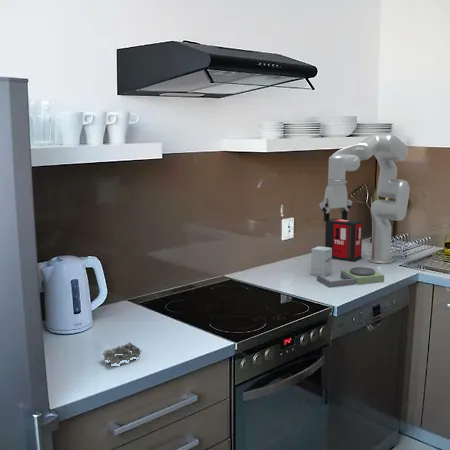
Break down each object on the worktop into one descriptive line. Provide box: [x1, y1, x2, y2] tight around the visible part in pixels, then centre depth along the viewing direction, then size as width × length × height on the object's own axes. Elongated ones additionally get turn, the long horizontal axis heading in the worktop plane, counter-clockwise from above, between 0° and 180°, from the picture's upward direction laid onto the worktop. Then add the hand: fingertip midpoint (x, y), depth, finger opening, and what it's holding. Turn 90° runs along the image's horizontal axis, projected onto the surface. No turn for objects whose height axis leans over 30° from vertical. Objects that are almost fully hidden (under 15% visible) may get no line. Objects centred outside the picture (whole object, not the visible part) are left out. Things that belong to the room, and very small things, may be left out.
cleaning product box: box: [324, 217, 363, 263], centre depth 291 cm, size 16×9×20 cm, turn 53°
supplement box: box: [310, 246, 333, 278], centre depth 262 cm, size 7×7×13 cm
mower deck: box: [316, 266, 385, 288], centre depth 252 cm, size 27×14×4 cm, turn 108°
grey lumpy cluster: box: [102, 342, 143, 364], centre depth 171 cm, size 11×8×4 cm
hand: (335, 220), depth 253 cm, fingers open, 9 cm apart
